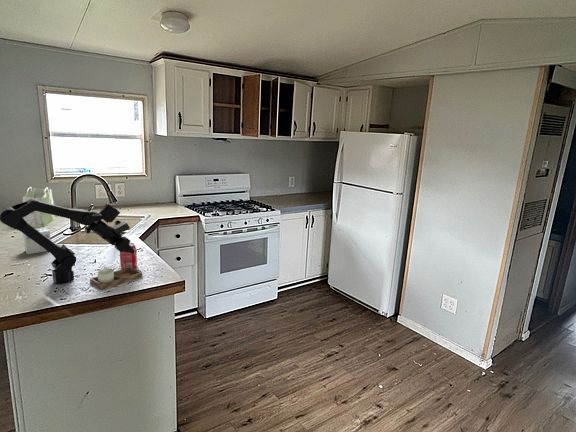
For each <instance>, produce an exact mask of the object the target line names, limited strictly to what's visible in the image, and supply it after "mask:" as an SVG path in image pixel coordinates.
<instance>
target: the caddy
mask: <svg viewBox="0 0 576 432" xmlns="http://www.w3.org/2000/svg"><path fill="white" fill-rule="evenodd" d="M141 278H143V272H141V271H140V270H137V269H136V268H135V269H133V268H131V267H128V268H125V269H119V270H114V281H112V282H108V283H105V284H101V283H99V282H98V275H97V276H94V277H91V278H89V284H91V285H93V286H94V287H96V288H98V289H100V290H102V291H103V290H107V289H109V288H113V287H115V286H119V285H122V284H126V283H128V282H132V281H134V280H138V279H141Z"/></svg>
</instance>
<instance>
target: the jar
mask: <svg viewBox="0 0 576 432" xmlns="http://www.w3.org/2000/svg"><path fill="white" fill-rule="evenodd" d="M114 272H115V270H114V269H112V268H101V269H100V270H98V271H97V276H98V282H99V283H101V284H105V283H108V282H112V281H114Z"/></svg>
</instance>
